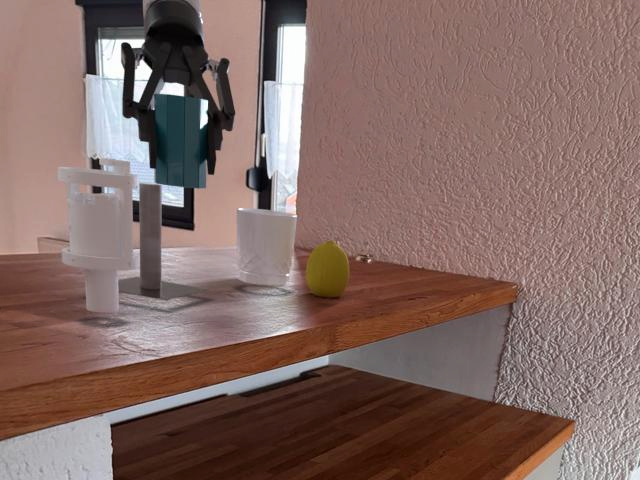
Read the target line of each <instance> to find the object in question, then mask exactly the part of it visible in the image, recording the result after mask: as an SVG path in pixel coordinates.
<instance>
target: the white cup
mask: <svg viewBox="0 0 640 480" xmlns="http://www.w3.org/2000/svg"><path fill="white" fill-rule="evenodd" d="M297 221H298V215H297V214H295V213H291V212H286V211H279V210H272V209H263V208H249V207H239V208H237V209H236V265H237V268H238V269H237V279H238V280H239V281H241V282H244V283H247V284H253V285H259V286H273V287H274V286H275V287H277V286H278V287H279V286H280V287H281V286H287V285H289V283H290V273H291V270H292V266H293V265H292V263H293V256H294V249H295V240H296V231H297Z"/></svg>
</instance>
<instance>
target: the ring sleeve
mask: <svg viewBox="0 0 640 480" xmlns="http://www.w3.org/2000/svg"><path fill="white" fill-rule="evenodd" d="M153 110H155V124H156V142H157V163H156V169H153V171H154V173H153V175H154V177H153V181H154V184H158V185H162V186H169V187H177V188H178V187H179V188H188V189H206V188H207V158H206V157H207V124H208V100H203V99H198V98H194V97H191V96H186V95H185V96H184V95H176V94H169V93H160V94H159V93H156V94H154V109H153Z"/></svg>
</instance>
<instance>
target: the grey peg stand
mask: <svg viewBox="0 0 640 480" xmlns="http://www.w3.org/2000/svg"><path fill="white" fill-rule="evenodd" d="M162 187H163V185H162V184H156V183H150V182H149V183H148V182H139V188H138V197H139V199H138V201H139V202H138V203H139V207H138V208H139V211H138V212H139V215H138V216H139V276H134V277H127V278H122V279H118V291H119V292H118V293H122V294H128V295H135V296H139V297H146V298H151V299H157V300H163V301H170V300H174V299H177V298H181V297H186V296H189V295H192V294H193V295H194V294H196V293H201V292H205V291H209V288H206V287H200V286H193V285H189V284H188V285H187V284H181V283H175V282H169V281H164V280H162V249H163V248H162V247H163V246H162V244H163V243H162V239H163V237H162V235H163V233H162V232H163V231H162V230H163V228H162V226H163V225H162V223H163V222H162V221H163V220H162V218H163V217H162V216H163V215H162V213H163V211H162V210H163V209H162V208H163V206H162V205H163V203H162V201H163V200H162V199H163V192H162V191H163V189H162Z"/></svg>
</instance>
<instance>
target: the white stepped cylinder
mask: <svg viewBox="0 0 640 480" xmlns="http://www.w3.org/2000/svg"><path fill="white" fill-rule="evenodd" d="M98 160H99V165H101V166H107V167H113V170H104V169H96V168H83V167H72V166H71V167H70V166H69V167H68V166H57V181H59V182H62V183H66V194H67V195H66V196H67V218H68V235H69V236H68V240H69V241H68V242H69V246H67V247H63V248H61V262H62V264H65V265H66V266H69V267H74V268H75V267H76V268H79V269H81V268H82V269H84V281H85V283H84V285H85V287H84V288H85V304H86V306H85V307H86V308H85V309H86V310H87V311H88V312H91V313H99V314H100V313H102V314H111V313H112V314H113V313H117V312H119V311H120V304H119V293H120V292H119V291H118V280H119V271H132V270H138V269H140V253H137V252H134V217H133V215H134V210H133V209H134V207H133V205H134V204H133V203H134V202H133V190H136V189H138V190H139V183H140V176H139V175H138V174H133V173H131V161H127V160H119V159H116V158H108V157H102V158H99V159H98ZM81 185H82V186H90V187H100V188H109V189H110V188H111V189H113V190H114V191H113V192H112V193H111V192H110V193H109V192H100V193H88V192H81Z"/></svg>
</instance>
